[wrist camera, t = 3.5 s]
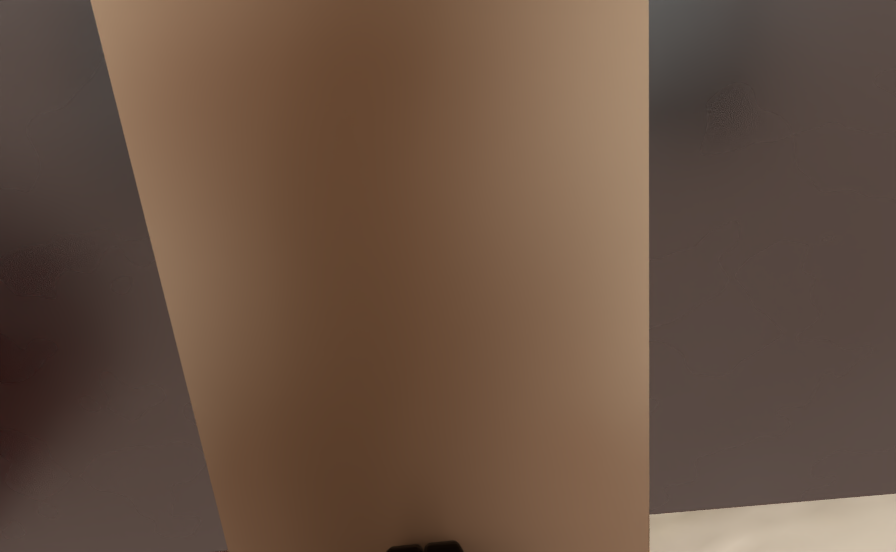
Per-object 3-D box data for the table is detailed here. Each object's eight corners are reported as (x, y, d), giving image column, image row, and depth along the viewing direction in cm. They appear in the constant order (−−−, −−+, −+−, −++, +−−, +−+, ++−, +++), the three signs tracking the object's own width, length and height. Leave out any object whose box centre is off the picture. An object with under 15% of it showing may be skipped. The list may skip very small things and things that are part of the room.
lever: (601, -728, 6) (659, -972, 5) (625, 690, 12) (655, 803, 11) (2, -653, 7) (-148, -868, 5) (308, 715, 12) (289, 832, 11)
